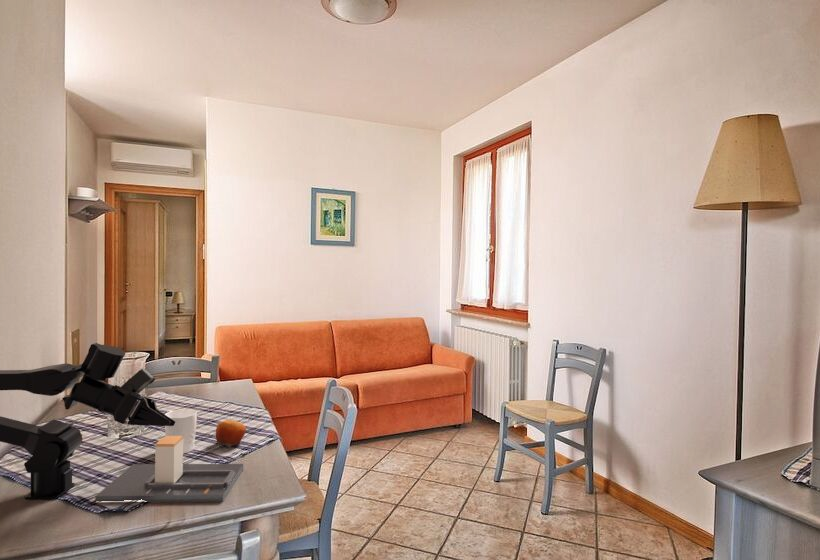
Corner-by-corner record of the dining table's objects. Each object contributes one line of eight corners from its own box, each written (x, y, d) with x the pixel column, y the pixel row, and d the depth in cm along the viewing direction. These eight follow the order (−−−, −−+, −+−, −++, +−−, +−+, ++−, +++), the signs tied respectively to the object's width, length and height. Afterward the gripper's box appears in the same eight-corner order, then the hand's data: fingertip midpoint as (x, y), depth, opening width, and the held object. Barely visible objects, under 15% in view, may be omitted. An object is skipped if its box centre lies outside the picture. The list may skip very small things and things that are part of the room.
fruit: (204, 445, 128) (214, 415, 132) (218, 451, 135) (227, 422, 139) (232, 448, 127) (240, 418, 131) (244, 453, 134) (252, 424, 138)
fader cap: (154, 484, 104) (155, 444, 104) (164, 474, 109) (165, 435, 109) (173, 484, 105) (174, 443, 104) (182, 474, 110) (183, 435, 109)
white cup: (183, 457, 124) (184, 419, 124) (157, 453, 125) (157, 416, 125) (202, 446, 132) (203, 410, 131) (177, 443, 133) (178, 407, 133)
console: (95, 503, 99) (95, 492, 99) (133, 470, 115) (133, 461, 115) (223, 501, 101) (223, 491, 101) (243, 469, 117) (243, 460, 117)
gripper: (114, 357, 99) (186, 386, 102) (132, 367, 116) (194, 392, 119) (81, 408, 95) (158, 437, 98) (105, 411, 112) (170, 436, 114)
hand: (172, 423), depth 107 cm, fingers open, 9 cm apart
